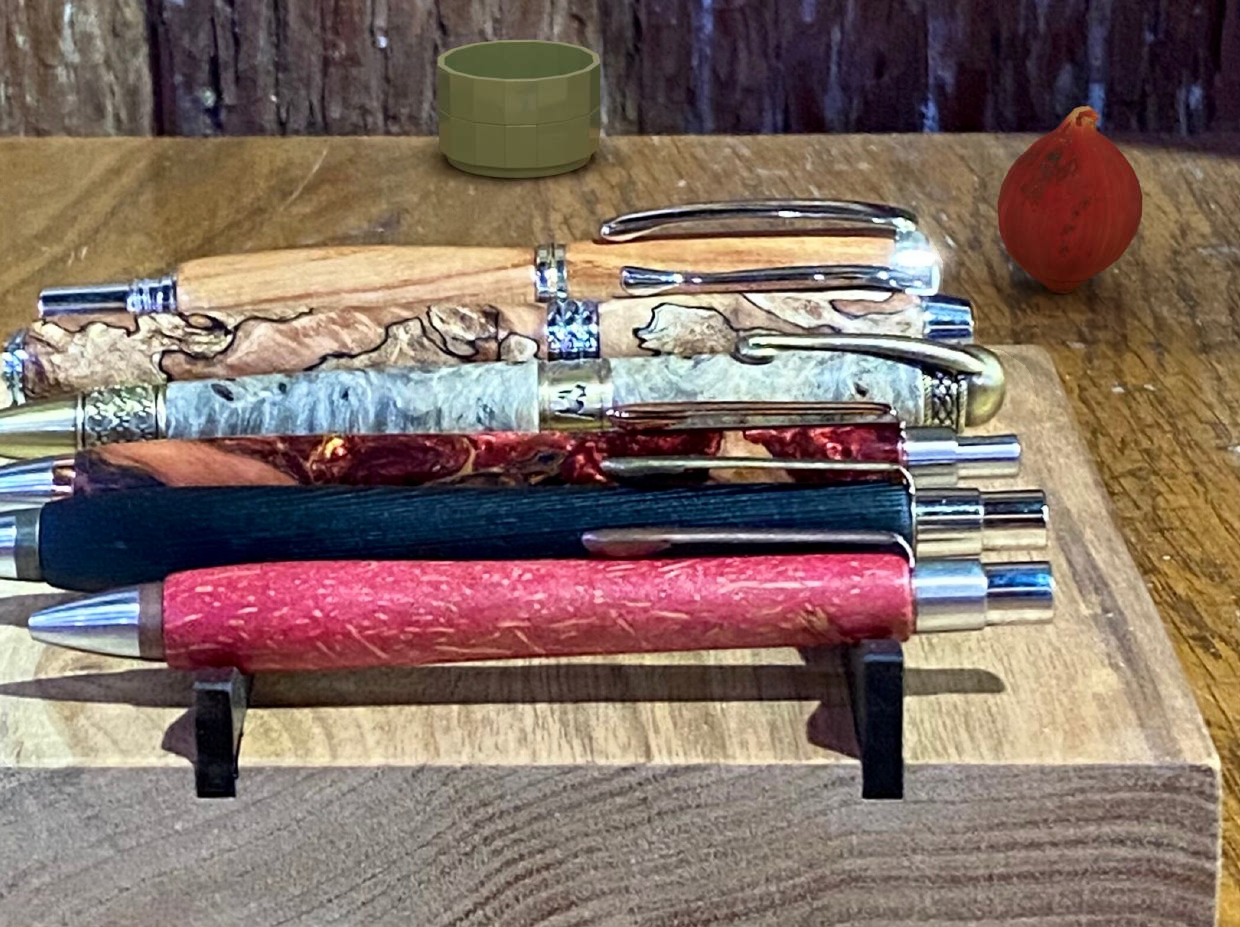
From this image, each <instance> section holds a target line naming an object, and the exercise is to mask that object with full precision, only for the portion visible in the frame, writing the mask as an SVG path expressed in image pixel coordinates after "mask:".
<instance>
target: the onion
mask: <svg viewBox="0 0 1240 927" xmlns="http://www.w3.org/2000/svg"><path fill="white" fill-rule="evenodd" d="M1100 117H1101V116H1100V115H1099V113H1098V111H1096V110H1095V109H1094V108H1093V107H1092V106H1090V105H1086V106H1084V105H1083V106H1079V107H1075V108H1073V110H1072V111H1071V112H1070V113H1069V114H1068V115H1067V116H1066V117H1065V118H1064V120H1063V121H1062V122H1061V124H1060V125H1059V126H1058V127H1056V128H1055V129H1053V130H1052V131H1050V132H1048V133H1047V134H1045V135H1043V136H1042V137H1040V138H1038V140H1036V141H1034V142H1033V143H1032V144H1031V145H1030V146H1029V147H1028V148H1027V149H1026V150H1025V151H1024V152H1023V153H1022V154H1021V155H1020V156H1018V158H1017V159H1015V160H1014V162H1013V164H1012V165H1011V167H1010V168H1009V169H1008V171H1007V173H1006V175H1005V176H1004V179H1003V181H1002V183H1001V185H1000V188H999V189H1000V190H999V193H998V197H997V198H998V199H997V202H996V203H997V204H996V205H997V221H998V222H997V223H998V230H999V235H1000V239H1001V240H1002V243H1003V245H1004V247H1005V251H1006V252H1007V253H1008V254H1009V255H1010V256H1011V258H1012V260H1013V261H1014V262H1015V263H1016V264H1017V265H1018V266H1019V267H1020V268H1021V269H1022V270H1024V271H1025V272H1026V273H1027V274H1028V275H1030V276H1031V277H1032V278H1033V279H1035V280H1036V281H1038V282H1039V283H1040V284H1041V285H1043V286H1045V287H1046V288H1047V289H1048V290H1049V291H1051V292H1052V293H1056V294H1063V295H1064V294H1069V293H1072V292H1074V291H1075V290H1077V289H1078V288H1080V287H1081V285H1082V284H1084V283H1086V282H1087V281H1088V280H1090V279H1091V278H1093V277H1095V276H1097V275H1099V274H1100V273H1102V272H1104V271H1105V270H1106V269H1108V268H1109V267H1111V266H1112V265H1113V264H1114V263H1116V262H1118V260H1120V258H1121V257H1122V256H1123V255H1124V253H1125V252H1126V250H1127V249H1128V248H1129V246H1130V245H1131V243H1132V242H1133V241H1134V239H1135V237H1136V236H1137V234H1138V231H1139V227H1140V224H1141V220H1142V217H1143V192H1142V188H1141V184H1140V180H1139V178H1138V176H1137V174H1136V172H1135V169H1134V168H1133V166H1132V165H1131V163H1130V162H1129V160H1128V159H1127V158H1126V156H1125V155H1124V153H1123V152H1122V151H1121V150H1120V149H1119V148H1118V146H1117V145H1116V144H1114V143H1113V142H1112V141H1111V140H1110V139H1109V138H1107V137H1106V136H1105V135H1103V134H1102V133H1100V132H1099V131H1098V130H1097V123H1099V119H1100Z"/></svg>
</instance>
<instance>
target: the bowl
mask: <svg viewBox="0 0 1240 927" xmlns="http://www.w3.org/2000/svg"><path fill="white" fill-rule="evenodd" d="M437 104H438V105H437V106H438V110H437V111H438V112H437V113H438V150H439V151H440V152H441V153H442V154H444V155H445V156H446V160H447V161H448V164H450V165H451V166H453V167H454V168H456V169H458V170H460V171H463V172H466V173H469V174H473V175H478V176H483V177H492V178H500V179H501V178H502V179H531V178H532V179H533V178H543V177H551V176H556V175H562V174H566V173H569V172H572V171H575V170H578V169H580V168H582V167H584V166H585V165H587V164H588V163H589V162H590V160H591V158H592V155H593V154H594V153H595V152H597V151H598V150H599V149H600V140H601V139H600V134H601V133H600V132H601V128H600V127H601V126H600V125H601V106H600V105H601V59H600V55H599V53H597V52H595V51H593V50H591V49H589V48H587V47H585V46H581V45H578V44H577V45H576V44H572V43H567V42H562V41H552V40H541V39H499V40H491V41H483V42H474V43H469V44H466V45H462V46H458V47H454V48H450V49H448V50H447V51H445V52H444V53H442V54H440V55H438V57H437Z"/></svg>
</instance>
